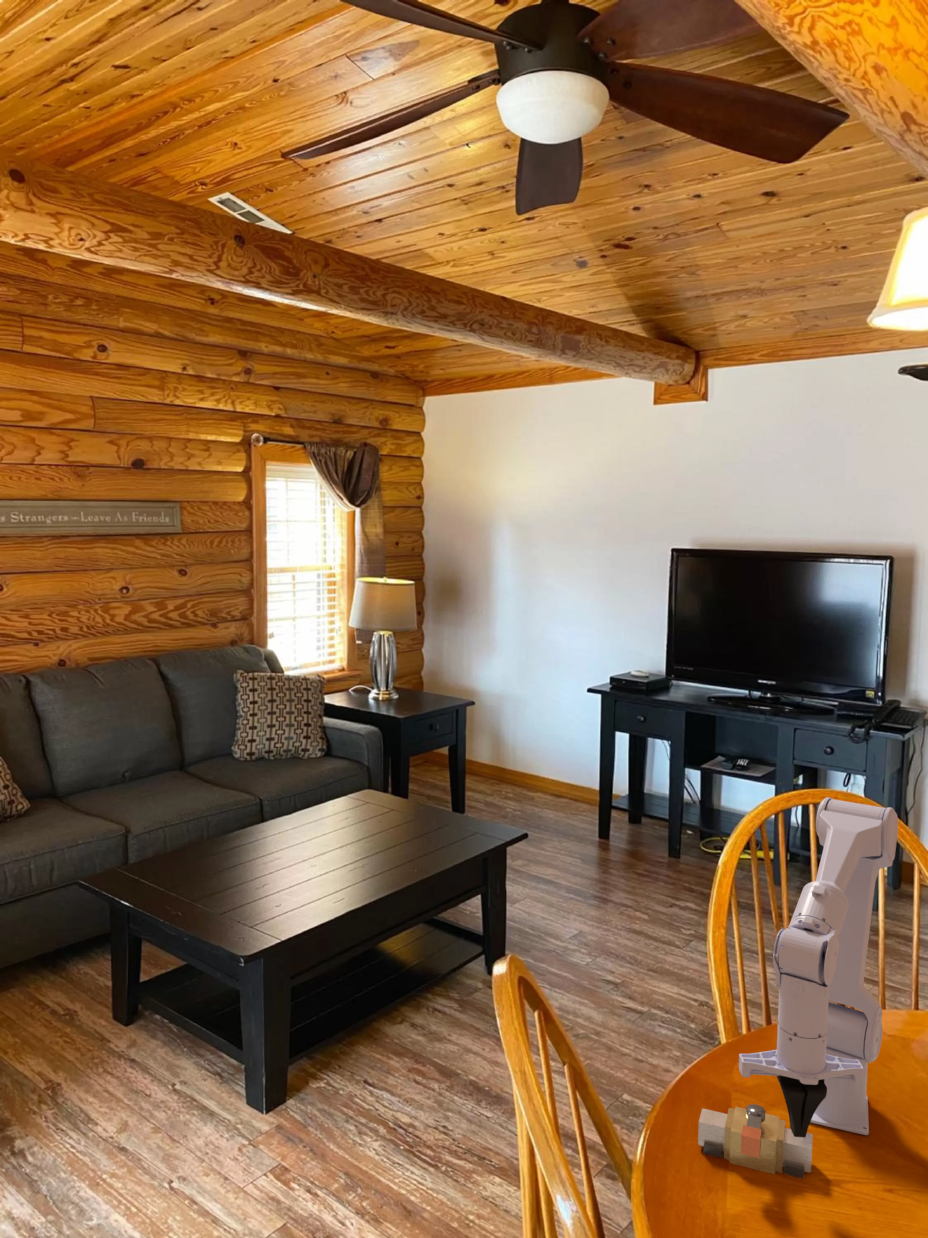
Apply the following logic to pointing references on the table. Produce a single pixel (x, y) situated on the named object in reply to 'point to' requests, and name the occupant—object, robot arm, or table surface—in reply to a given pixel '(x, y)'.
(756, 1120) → the lever
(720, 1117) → the valve
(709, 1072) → the table surface
